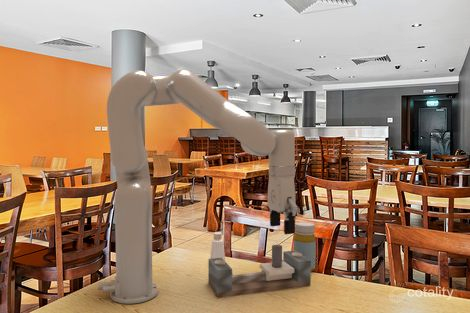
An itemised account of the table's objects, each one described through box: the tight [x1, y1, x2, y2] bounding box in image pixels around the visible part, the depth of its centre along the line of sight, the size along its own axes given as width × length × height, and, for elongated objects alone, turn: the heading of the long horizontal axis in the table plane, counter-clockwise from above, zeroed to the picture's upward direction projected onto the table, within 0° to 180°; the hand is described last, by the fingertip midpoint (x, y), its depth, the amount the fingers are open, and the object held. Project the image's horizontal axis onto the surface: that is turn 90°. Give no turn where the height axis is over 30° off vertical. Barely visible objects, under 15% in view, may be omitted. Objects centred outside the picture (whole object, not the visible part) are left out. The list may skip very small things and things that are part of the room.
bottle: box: [293, 221, 317, 273], centre depth 124 cm, size 7×7×15 cm
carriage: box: [259, 244, 294, 281], centre depth 112 cm, size 8×7×9 cm
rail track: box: [208, 250, 312, 299], centre depth 110 cm, size 28×10×8 cm, turn 108°
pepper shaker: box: [209, 231, 226, 262], centre depth 127 cm, size 5×5×11 cm
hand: (282, 229), depth 112 cm, fingers open, 9 cm apart
